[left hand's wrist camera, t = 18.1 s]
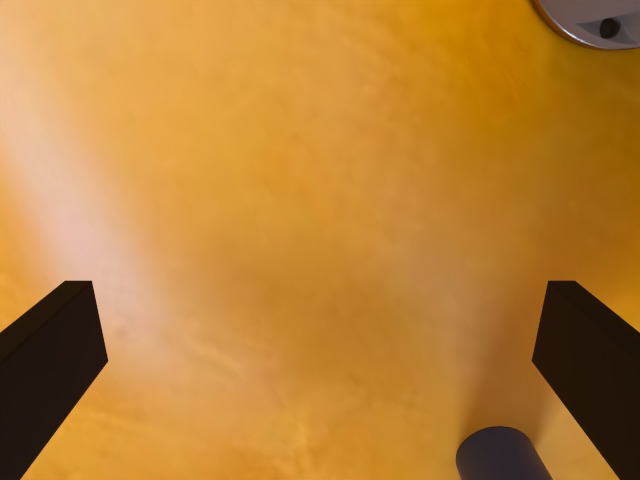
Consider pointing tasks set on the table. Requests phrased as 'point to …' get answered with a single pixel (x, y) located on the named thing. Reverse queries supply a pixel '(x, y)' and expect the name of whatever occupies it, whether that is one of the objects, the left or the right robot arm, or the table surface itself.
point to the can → (499, 457)
